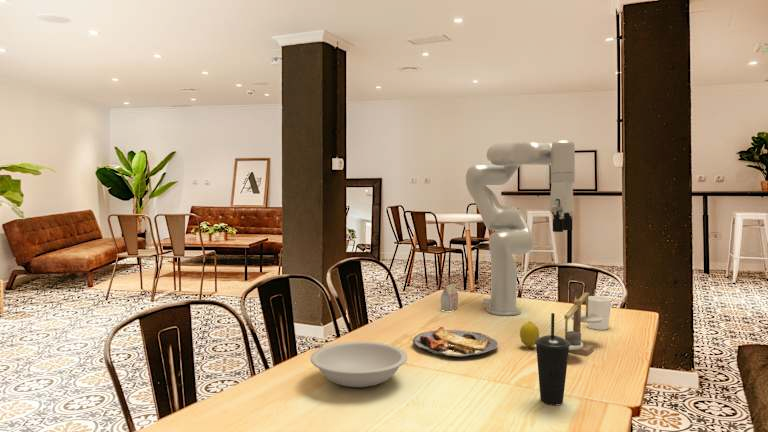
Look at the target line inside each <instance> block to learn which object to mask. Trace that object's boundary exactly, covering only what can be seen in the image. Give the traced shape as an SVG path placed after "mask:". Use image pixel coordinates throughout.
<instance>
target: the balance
mask: <svg viewBox="0 0 768 432" xmlns="http://www.w3.org/2000/svg"><path fill="white" fill-rule="evenodd" d="M589 296H590V292H586V291H584V293H583V294H582V295H581V296H580V297H579V298H577V299H574V300H573V302H572V303H573V305H572V306H571V307H570V308H569V310H567V312H566V313H565V314H564V315H563V316H564V318H563V319H564V320H565V321H564V325H565V326H564V337H563V338H564V339H565V340H568V341H569V342H570V347H569V352H568V353H570V354H576V355H580V356H588V355H589V356H590V354H592V353H593V352H594V351H595V350H594V349H595V348H594V347H595V346H594V345H593V344H588V343H583V342H582V333H581V325H582V323H586V324H587V323H599V322H602V321H603V317H602V316H599V315H596V314H590V313H588V297H589ZM584 303H585V312H582V305H583V304H584ZM570 319H571V320H573V328H572V329H573V330H570V331H568V320H570Z"/></svg>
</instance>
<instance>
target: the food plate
mask: <svg viewBox="0 0 768 432" xmlns="http://www.w3.org/2000/svg"><path fill="white" fill-rule="evenodd" d="M412 342H413V343H412V344H414V345H415V346H416V347H418V348H421V349H424V350H427V351H428V352H430V353H431V354H433V355H441V356H449V357H451V356H452V357H459V358H460V357H468V356H473V355H474V356H475V355H481V354H484V353H487V352H491V351H494V350H495V349H497V348H498V347H499V343H498V341H497V340H496V339H494V338H492V337H491V336H489V335H487V334H484V333H480V332H474V331H468V330H460V329H459V330H458V329H446V328H445V327H444V326H440V327H439V328H438V329H437V330H430V331H425V332H422V333H419V334H417V335H415V336H414V337H413V339H412ZM449 344H450V345H449ZM451 345H454V346H451ZM448 350H452V351H453V350H454V351H458V353H460V354H458V353H456V354H455V353H448V352H446V351H448ZM439 351H440V352H439ZM443 351H444V352H445V353H443ZM476 351H478V352H476Z"/></svg>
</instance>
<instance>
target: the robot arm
mask: <svg viewBox="0 0 768 432" xmlns="http://www.w3.org/2000/svg"><path fill="white" fill-rule="evenodd" d="M575 147H576V146H575V142H574V141H572V140H565V139H564V140H556V141H552V142H543V141H542V142H540V141H526V142H503V143H495V144H493V145H490V147H489V148H488V149H487V150H486V159H487V161H488V162H489V163H477V164H473V165H470V167H469V168H468V169H467V170H466V174H465V185H466V188H467V191H468V193H469V195H470V196H471V198H472V199H473V201H474V203H475V205H476V207H477V210H478V211H479V214H480V218H481V219H482V221H483V224H484V225H485V227H486V229H488V230H489V231H493V232H492V233H491V234H490V235H489V238H488V248H489V253H490V271H491V272H490V273H491V274H490V275H491V277H490V298H486V297H485V298H482V301H481V303H482V305H487V307H486V312H488V313H489V314H492V315H496V316H517V315H520V313H521V309H520V308H519V307H517V294H518V293H517V284H518V283H517V282H518V280H517V279H518V277H517V276H518V271H517V270H518V267H517V263H516V261H515V259H514V257H513V255H521V254H527V253H529V252H530V251H532V249H533V247H534V237H533V233H532V232H531V229H530V227H529V224H527V220H526V219H525V216H524V215H523V213H522V211H521V210H520V209H519V208H518V207H516V206H513V205H502V204H500V202H499V199H498V197H497V195H496V194H495V193H494V191H493V190H491V188H489V187H488V186H501V185H505V184H507V183H508V182H509V181H510V180H511V178H512V177H513V176H514V174H515V173H516V172H517V171H518V169H519V168H520V167H521V166H522V165H528V166H529V165H531V166H533V165H543V166H550V184H551V187H550V197H549V198H550V201H549V203H550V204H549V212H550V213H551V214H552V232H553V233H563V232H564V231H572V230H573V211H574V192H573V191H574V188H573V184H575V181H576V179H575V178H576V174H575V171H576V169H575V168H576V167H575V165H576V164H575V163H576V162H575V161H576V160H575V155H576V154H575V153H576V152H575V149H576V148H575Z"/></svg>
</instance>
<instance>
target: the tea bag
mask: <svg viewBox="0 0 768 432" xmlns="http://www.w3.org/2000/svg"><path fill="white" fill-rule="evenodd" d="M457 308H458V309H459V294H458V291H457V289H456V285H455V283H451V284H447V285H445V286H444V289H443V290H442V293H441V295H440V311H441V310H444V311H452V310H454V311H456V310H455V309H457ZM458 309H457V310H458ZM452 312H453V311H452Z"/></svg>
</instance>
